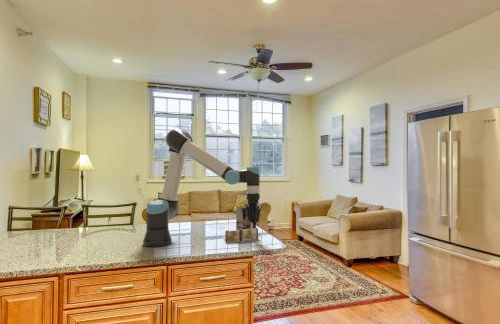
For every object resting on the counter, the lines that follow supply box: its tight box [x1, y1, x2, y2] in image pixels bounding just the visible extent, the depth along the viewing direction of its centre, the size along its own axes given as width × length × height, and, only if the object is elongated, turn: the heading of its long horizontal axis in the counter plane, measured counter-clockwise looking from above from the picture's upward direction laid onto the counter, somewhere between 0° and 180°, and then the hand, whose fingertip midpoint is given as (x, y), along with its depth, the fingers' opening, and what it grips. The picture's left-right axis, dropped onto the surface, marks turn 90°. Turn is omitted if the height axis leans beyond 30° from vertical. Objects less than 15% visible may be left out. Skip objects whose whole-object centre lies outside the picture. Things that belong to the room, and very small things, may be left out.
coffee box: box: [235, 205, 251, 230], centre depth 206 cm, size 9×6×16 cm
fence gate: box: [242, 227, 259, 240], centre depth 184 cm, size 10×1×6 cm, turn 117°
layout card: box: [221, 235, 261, 244], centre depth 186 cm, size 20×16×1 cm
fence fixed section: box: [224, 229, 242, 243], centre depth 180 cm, size 10×2×6 cm, turn 103°
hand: (253, 233), depth 183 cm, fingers closed
